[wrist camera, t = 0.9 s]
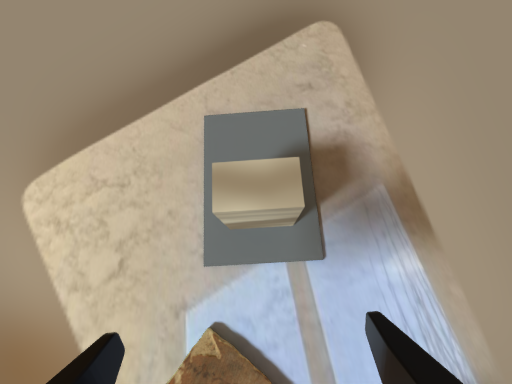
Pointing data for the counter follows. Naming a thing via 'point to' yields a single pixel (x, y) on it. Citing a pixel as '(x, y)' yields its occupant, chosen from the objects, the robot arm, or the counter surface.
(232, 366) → the shard
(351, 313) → the counter surface
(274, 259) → the rubber mat
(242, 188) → the beige block
